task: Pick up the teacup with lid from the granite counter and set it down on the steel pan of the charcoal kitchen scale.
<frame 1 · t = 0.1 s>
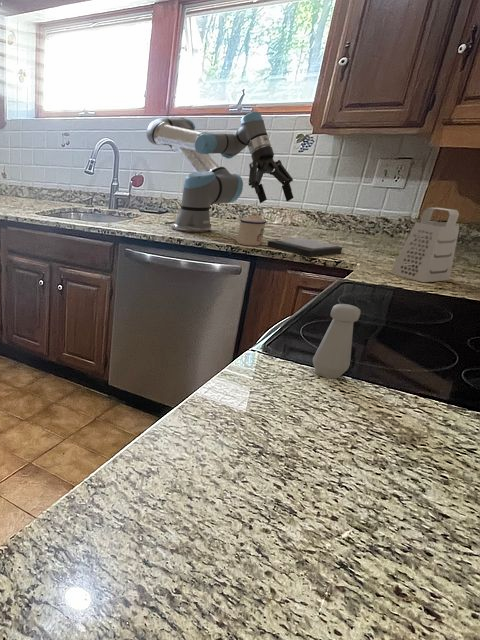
hand: (276, 200, 201), 15 cm above the worktop, tool tilted 35°, fingers open, 13 cm apart
scale: (303, 249, 193), on the worktop
teacup with lid: (248, 243, 203), on the worktop
grater: (418, 277, 159), on the worktop
salt shaker: (327, 374, 96), on the worktop
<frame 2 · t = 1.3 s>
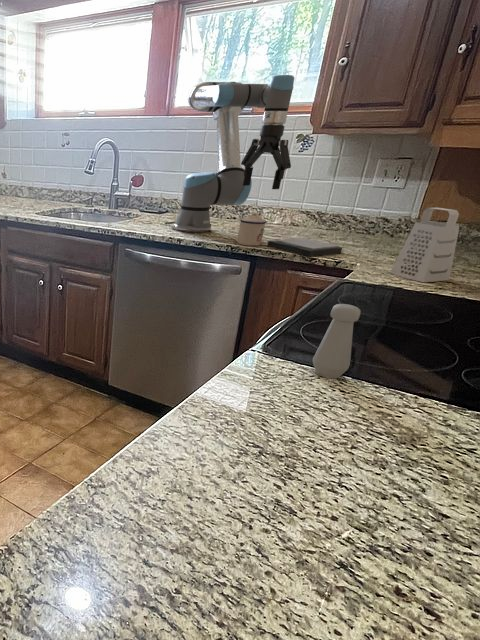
hand: (260, 187, 194), 21 cm above the worktop, tool pointing down, fingers open, 13 cm apart
nothing on the worktop moved.
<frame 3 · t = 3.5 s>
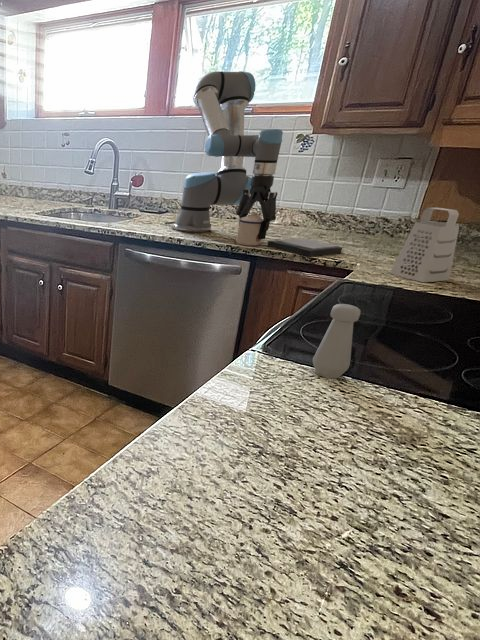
hand: (251, 236, 201), 2 cm above the worktop, tool pointing down, fingers open, 9 cm apart
teacup with lid: (248, 243, 203), on the worktop, touching gripper
everything else where it was.
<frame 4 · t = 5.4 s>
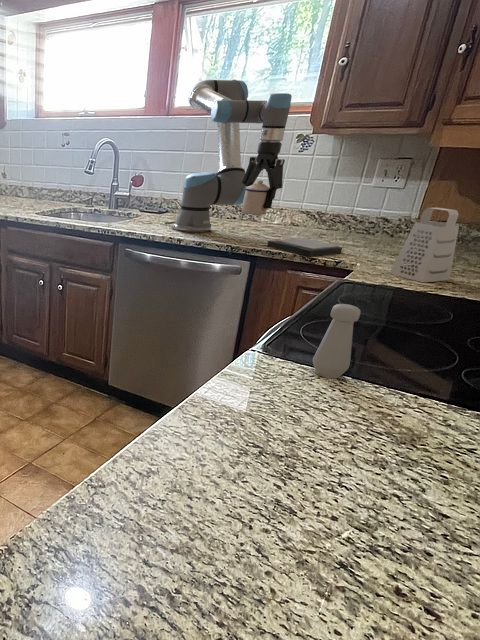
hand: (256, 206, 197), 14 cm above the worktop, tool pointing down, fingers closed on teacup with lid, 9 cm apart
teacup with lid: (253, 213, 199), point 11 cm above the worktop, touching gripper
everything else where it was.
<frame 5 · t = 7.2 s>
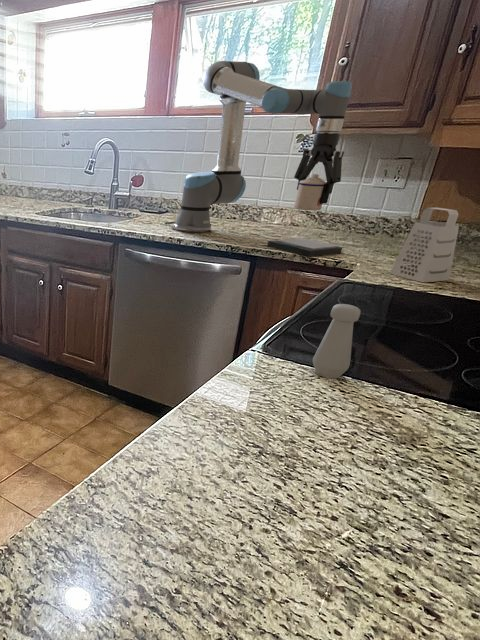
hand: (311, 201, 187), 17 cm above the worktop, tool pointing down, fingers closed on teacup with lid, 9 cm apart
teacup with lid: (306, 208, 188), point 14 cm above the worktop, touching gripper
everything else where it was.
when the fingers open (5 cm above the worktop, at t = 10.4 s): teacup with lid stays where it is, resting on scale.
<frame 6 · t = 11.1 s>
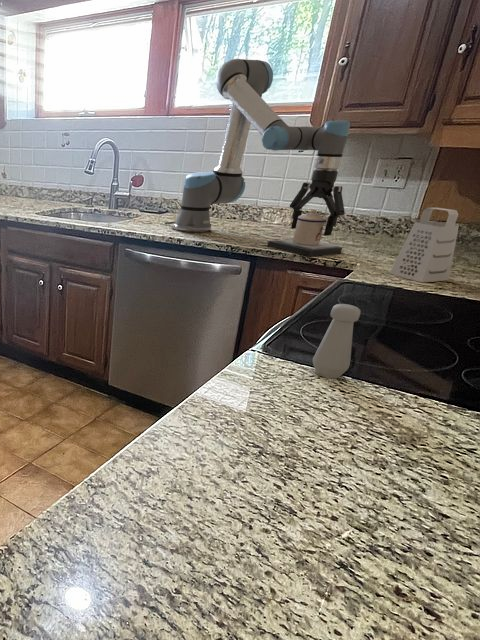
hand: (310, 231, 190), 7 cm above the worktop, tool pointing down, fingers open, 13 cm apart
teacup with lid: (305, 242, 192), point 2 cm above the worktop, touching scale
everything else where it was.
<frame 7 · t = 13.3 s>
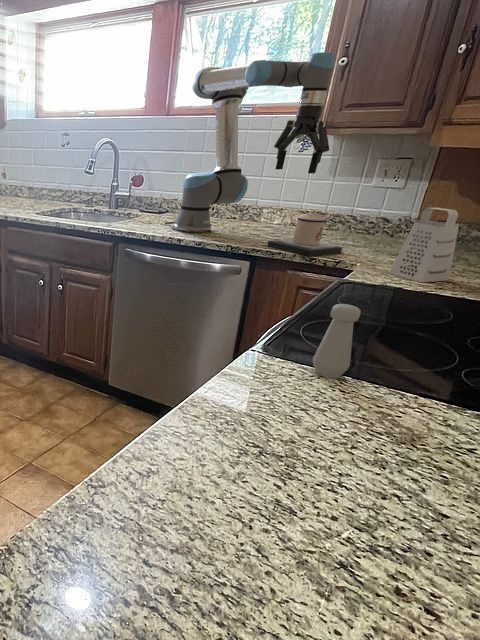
hand: (294, 171, 187), 27 cm above the worktop, tool pointing down, fingers open, 13 cm apart
nothing on the worktop moved.
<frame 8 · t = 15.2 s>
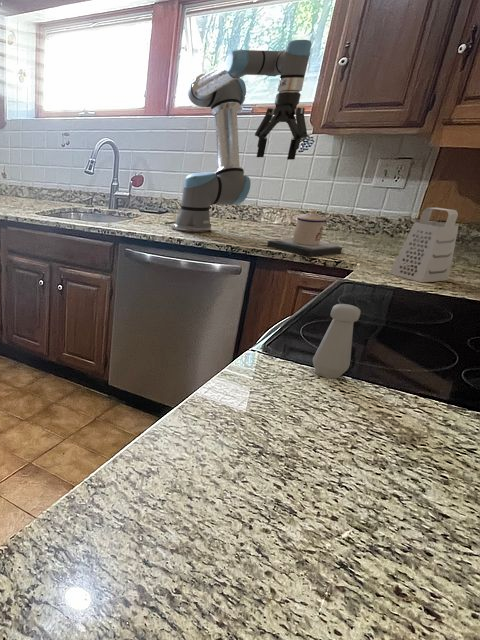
hand: (274, 158, 189), 31 cm above the worktop, tool pointing down, fingers open, 13 cm apart
nothing on the worktop moved.
at the end: teacup with lid inside the target area on the scale (1.0 cm from its centre), point 2.3 cm above the scale's base; teacup with lid tilted 0°; the gripper is holding nothing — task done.
